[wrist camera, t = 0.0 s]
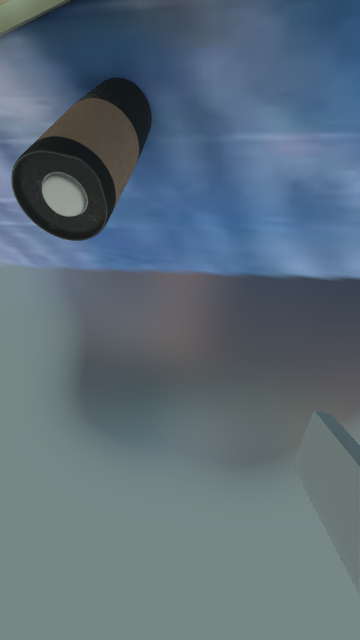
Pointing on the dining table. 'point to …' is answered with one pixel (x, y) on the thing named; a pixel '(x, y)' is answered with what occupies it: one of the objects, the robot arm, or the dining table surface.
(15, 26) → the tray
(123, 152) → the travel mug
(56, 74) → the dining table surface
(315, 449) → the robot arm
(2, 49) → the dining table surface
